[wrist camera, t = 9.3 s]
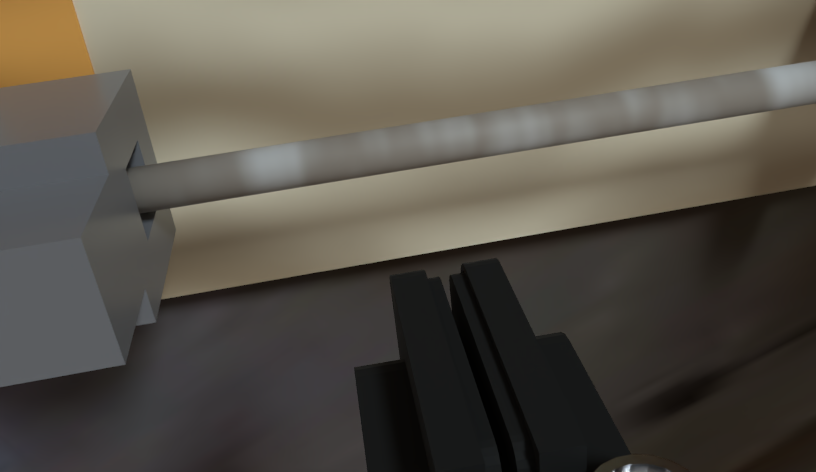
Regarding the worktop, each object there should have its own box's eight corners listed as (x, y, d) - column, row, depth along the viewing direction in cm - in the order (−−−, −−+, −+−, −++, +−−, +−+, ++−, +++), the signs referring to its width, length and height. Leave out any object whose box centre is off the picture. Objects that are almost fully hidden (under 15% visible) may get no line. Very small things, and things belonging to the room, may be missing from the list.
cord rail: (-233, -39, 21) (-501, 31, 14) (891, -179, 24) (1165, -183, 17) (-61, 316, 27) (-183, 499, 19) (829, 163, 30) (1014, 270, 23)
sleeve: (-23, 90, 20) (-172, 226, 13) (130, 69, 21) (63, 189, 14) (40, 252, 23) (-59, 438, 16) (176, 229, 23) (138, 401, 16)
